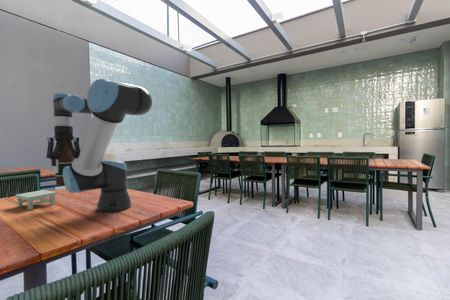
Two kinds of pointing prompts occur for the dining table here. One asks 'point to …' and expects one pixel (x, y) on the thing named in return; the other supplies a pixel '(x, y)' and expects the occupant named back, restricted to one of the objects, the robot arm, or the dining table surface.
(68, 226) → the dining table surface
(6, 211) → the dining table surface
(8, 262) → the dining table surface
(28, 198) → the stool
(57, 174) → the beer bottle
